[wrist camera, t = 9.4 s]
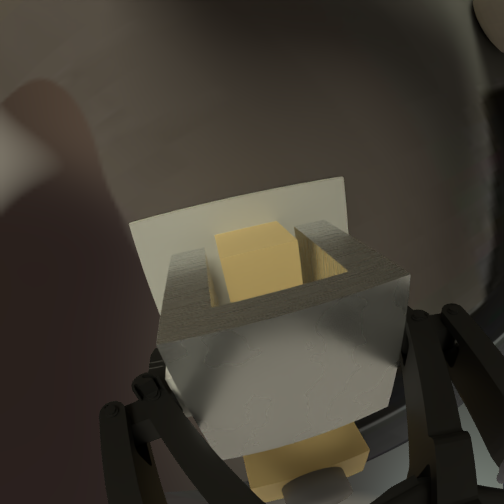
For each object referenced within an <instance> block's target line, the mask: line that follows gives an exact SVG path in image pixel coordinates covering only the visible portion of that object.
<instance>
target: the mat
mask: <svg viewBox="0 0 504 504" xmlns="http://www.w3.org/2000/svg"><path fill="white" fill-rule="evenodd" d="M320 220H325V221H327V222H329V223H330V224H332V225H334V226H336V227H337V228H339V229H341V230H342V231H344V232H345V233H347V234H348V223H347V209H346V198H345V188H344V178H343V177H341V176H340V177H334V178H328V179H322V180H316V181H311V182H305V183H300V184H294V185H289V186H284V187H279V188H273V189H268V190H263V191H259V192H254V193H249V194H244V195H240V196H235V197H231V198H226V199H222V200H217V201H213V202H209V203H204V204H200V205H196V206H192V207H188V208H184V209H180V210H176V211H172V212H168V213H164V214H160V215H156V216H153V217H149V218H145V219H141V220H138V221H134V222H131V223H130V224H129V226H130V229H131V233H132V236H133V239H134V242H135V245H136V249H137V252H138V255H139V258H140V261H141V264H142V267H143V270H144V273H145V275H146V278H147V281H148V284H149V287H150V289H151V292H152V295H153V298H154V300H155V303H156V305H157V308H158V310H159V313H160V315H161V309H162V303H163V297H164V291H165V286H166V280H167V275H168V269H169V264H170V259H171V255H173V254H177V253H181V252H185V251H190V250H194V249H198V248H202V247H204V248H205V252H206V256H207V260H208V264H209V268H210V272H211V276H212V279H213V283H214V287H215V291H216V294H217V298H218V302H219V305H224V304H229V303H231V302H230V298H229V294H228V290H227V286H226V282H225V278H224V274H223V270H222V266H221V262H220V257H219V253H218V249H217V244H216V240H215V236H214V235H217V234H221V233H226V232H230V231H234V230H238V229H243V228H247V227H252V226H256V225H260V224H265V223H269V222H274V221H277V222H279V223H280V224H281V225H282V226H283V227H284V228H285V229H286V230H287V231H288V232H289V233H290V234H292V235H293V236H294V237H295V231H294V226H297V225H302V224H306V223H311V222H315V221H320Z"/></svg>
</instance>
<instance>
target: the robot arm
mask: <svg viewBox="0 0 504 504" xmlns="http://www.w3.org/2000/svg"><path fill="white" fill-rule="evenodd" d="M457 342H458V344H459V345H458V344H457ZM400 363H401V368H402V375H403V383H404V391H405V400H406V410H407V422H408V437H409V471H408V475H407V479H406V480H404V481H402V482H400V483H398V484H396V485H394V486H393V487H391V488H390V489H388V490H387V491H386V492H385V493H383V494H382V495H381V496H380V497H378V498H377V499H376V500H375V501H373V502H372V503H370V504H504V356H503V355H502V354H501V352H500V351H499V350H498V349H497V347H496V346H495V345H494V344H493V342H492V341H491V340H490V339H489V337H488V336H487V335H486V334H485V333H484V332H483V330H482V329H481V328H480V327H479V326H478V325H477V323H476V322H475V321H474V320H473V319H472V318H471V317H470V315H469V314H468V313H467V312H466V311H465V310H464V309H463V308H462V307H461V306H460V305H457V304H452V303H451V304H446V305H444V306H443V308H442V312H441V313H440V314H435V315H429V314H428V313H427V312H425V311H423V310H412V309H411V308H410V307H409V306H407V314H406V321H405V328H404V334H403V340H402V346H401V351H400V356H399V361H398V367H400ZM451 381H452V382H453V384H454V386H455V387H456V389H457V391H458V393H459V395H460V396H461V398H462V400H463V402H464V404H465V405H466V407H467V409H468V411H469V413H470V415H471V417H472V419H473V421H474V422H475V425H476V427H477V428H478V430H479V433H480V435H481V437H482V439H483V441H484V443H485V445H486V447H487V449H488V451H489V453H490V455H491V457H492V459H493V460H494V461H495V463H496V464H497V466H498V467H499V473H498V475H497V481H498V482H499V483H501V484H502V483H503V489H500V488H493V487H486V486H481V485H477V479H476V469H475V461H474V454H473V448H472V442H471V437H470V434H469V433H468V431H463V430H462V428H461V422H460V418H459V413H458V408H457V403H456V399H455V395H454V391H453V387H452V383H451ZM132 390H133V392H134V393H135V395H136V396H137V398H138V399H139V400H138V401H136V402H134V403H131V404H129V405H126V406H124V405H123V404H122V403H121V402H118V401H113V402H109V403H107V404H105V405H104V406H103V407H102V409H101V410H100V414H99V421H100V439H101V451H102V462H103V470H104V478H105V485H106V492H107V498H108V503H109V504H167V501H166V498H165V495H164V492H163V489H162V486H161V482H160V479H159V475H158V472H157V468H156V464H155V461H154V457H153V453H152V449H151V445H150V442H151V441H154V440H156V439H159V438H162V440H163V441H164V443H165V444H166V446H167V447H168V449H169V450H170V452H171V454H172V455H173V456H174V458H175V459H176V461H177V462H178V464H179V465H180V467H181V468H182V469H183V471H184V472H185V474H186V475H187V476H188V478H189V479H190V480H191V481H192V483H193V484H194V486H195V487H196V488H197V489H198V491H199V492H200V493H201V494H202V496H203V497H204V498H205V499H206V501H207V502H208V503H209V504H266V503H264V502H263V501H262V500H261V499H260V498H259V497H258V496H257V495H256V494H255V493H254V492H253V491H252V490H251V489H250V488H249V487H248V486H247V485H246V484H245V483H244V482H243V481H242V480H241V479H240V478H239V477H238V476H237V475H236V474H235V473H234V472H233V471H232V470H231V469H230V468H229V467H228V466H227V465H226V463H225V462H224V461H223V460H222V459H221V458H220V457H219V456H218V455H217V453H216V452H215V451H214V450H213V449H212V448H211V447H210V445H209V444H208V443H207V442H206V441H205V439H204V438H203V437H202V436H201V435H200V433H199V432H198V431H197V430H196V429H195V427H194V426H193V425H192V423H191V422H190V421H189V420H188V418H187V417H191V416H192V414H191V412H190V411H189V409H188V407H187V405H186V403H185V401H184V400H183V398H182V396H181V394H180V392H179V390H178V388H177V386H176V385H175V383H174V381H173V379H172V377H171V375H170V373H169V371H168V369H167V367H166V365H165V363H164V360H163V358H162V356H161V354H160V352H159V350H158V348H156V349H155V350H154V351H153V353H152V354H151V357H150V364H149V371H148V373H144V374H141V375H139V376H138V377H136V378H135V379H134V381H133V383H132ZM183 412H184V413H183Z"/></svg>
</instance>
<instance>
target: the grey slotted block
mask: <svg viewBox="0 0 504 504" xmlns="http://www.w3.org/2000/svg"><path fill="white" fill-rule="evenodd" d="M294 231H295V238H296V239H297V240H298V247H299V255H300V263H301V272H302V280H303V284H302V285H299V286H295V287H291V288H288V289H284V290H280V291H276V292H272V293H269V294H265V295H261V296H257V297H253V298H249V299H245V300H241V301H237V302H233V303H229V304H224V305H219V302H218V298H217V294H216V291H215V287H214V283H213V279H212V276H211V272H210V268H209V264H208V260H207V256H206V252H205V248H204V247H202V248H198V249H194V250H190V251H185V252H181V253H177V254H173V255H171V259H170V264H169V269H168V275H167V280H166V286H165V291H164V297H163V303H162V309H161V315H160V322H159V329H158V336H157V343H156V345H157V348H158V350H159V352H160V354H161V356H162V358H163V360H164V363H165V365H166V367H167V369H168V371H169V373H170V375H171V377H172V379H173V381H174V383H175V385H176V386H177V388H178V390H179V392H180V394H181V396H182V398H183V400H184V401H185V403H186V405H187V407H188V409H189V411H190V412H191V414H192V416H193V418H194V419H195V421H196V423H197V424H198V426H199V428H200V430H201V431H202V433H203V434H204V436H205V438H206V439H207V441H208V443H209V444H210V446H211V447H212V449H213V450H214V451H215V452H216V453H217V455H218V456H219V457H220V458H221V459H222V460H225V459H230V458H236V457H241V456H245V455H250V454H254V453H259V452H263V451H267V450H271V449H274V448H278V447H282V446H285V445H289V444H292V443H296V442H299V441H302V440H305V439H308V438H311V437H314V436H317V435H320V434H323V433H326V432H328V431H331V430H334V429H337V428H339V427H342V426H344V425H347V424H349V423H352V422H354V421H356V420H359V419H361V418H363V417H366V416H368V415H370V414H372V413H375V412H377V411H379V410H381V409H383V408H385V407H387V406H388V404H389V400H390V396H391V392H392V388H393V384H394V380H395V375H396V371H397V366H398V361H399V356H400V351H401V346H402V340H403V334H404V328H405V321H406V314H407V306H408V297H409V288H410V277H411V274H410V273H408V272H407V271H405V270H404V269H402V268H401V267H399V266H398V265H396V264H395V263H393V262H392V261H390V260H389V259H387V258H385V257H384V256H382V255H381V254H379V253H378V252H376V251H375V250H373V249H371V248H370V247H368V246H367V245H365V244H363V243H362V242H360V241H359V240H357V239H355V238H354V237H352V236H350V235H349V234H347V233H345V232H344V231H342V230H341V229H339V228H337V227H336V226H334V225H332V224H330V223H329V222H327V221H325V220H320V221H315V222H311V223H306V224H302V225H297V226H294Z"/></svg>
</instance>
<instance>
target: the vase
mask: <svg viewBox="0 0 504 504" xmlns="http://www.w3.org/2000/svg"><path fill="white" fill-rule="evenodd" d="M473 7H474V11H475V14H476V17H477V20H478V22H479V24H480V26H481V28H482V29H483V31H484V33H485V34H486V36H487V37H488V38H489V40H490V41H491V42H492V43H493V44H494V45H495V46H496V47H497V48H498V49H499V50H500V51H501V52H502V53H504V0H473Z"/></svg>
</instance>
